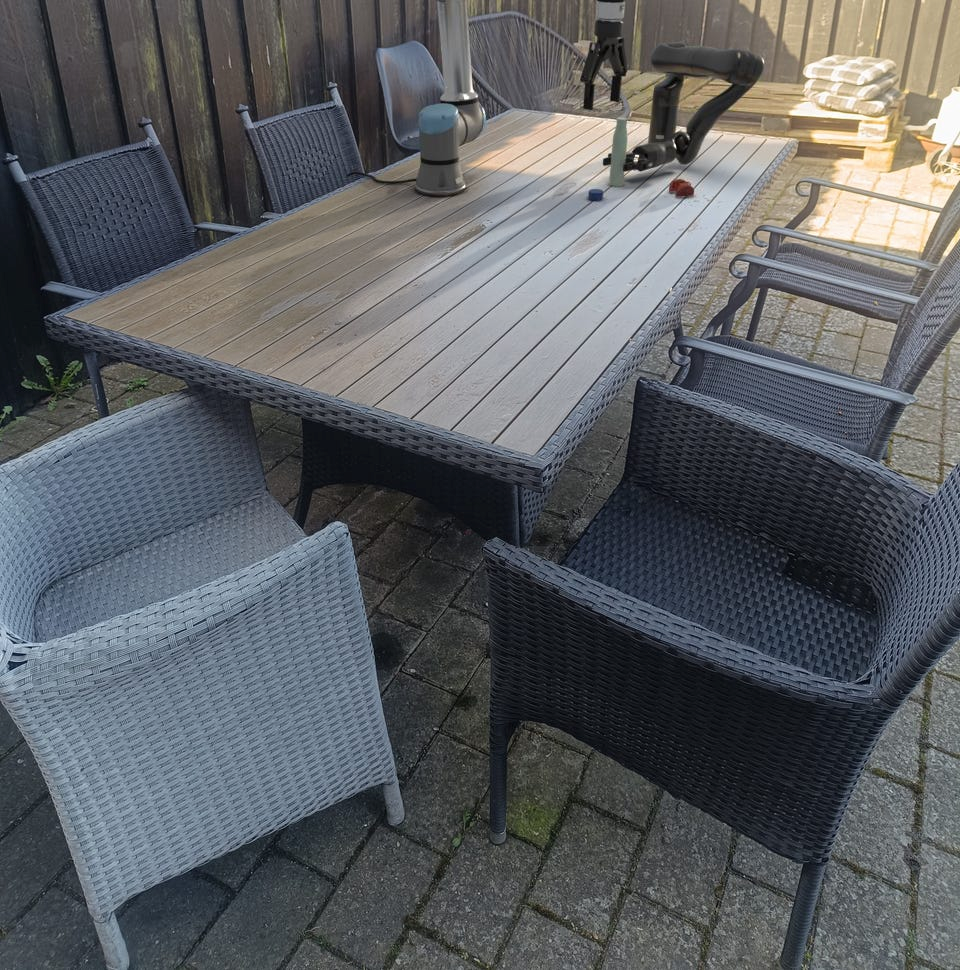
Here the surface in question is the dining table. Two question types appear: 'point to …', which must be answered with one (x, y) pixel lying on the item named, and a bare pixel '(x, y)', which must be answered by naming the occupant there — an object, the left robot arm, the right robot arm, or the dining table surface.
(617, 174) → the bottle
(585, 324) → the dining table surface
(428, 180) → the left robot arm
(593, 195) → the cap
